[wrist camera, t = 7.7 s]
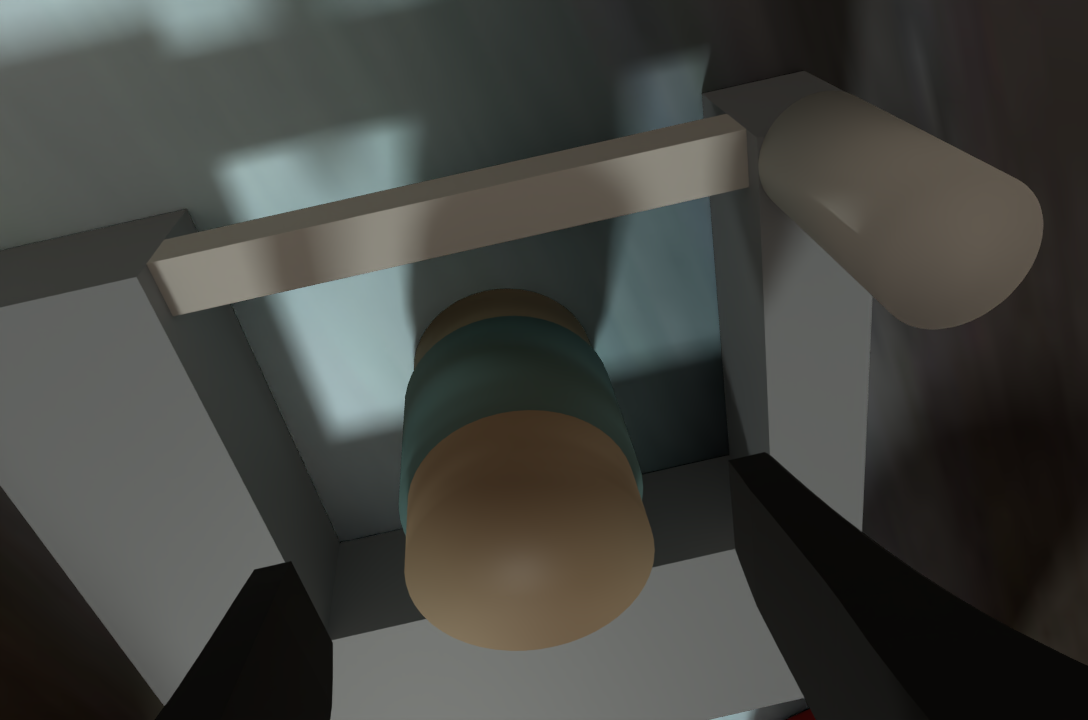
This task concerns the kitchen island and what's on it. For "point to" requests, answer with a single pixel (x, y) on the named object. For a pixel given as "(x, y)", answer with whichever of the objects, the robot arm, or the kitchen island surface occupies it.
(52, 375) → the grey u-shaped frame
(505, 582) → the bobbin
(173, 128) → the kitchen island surface
